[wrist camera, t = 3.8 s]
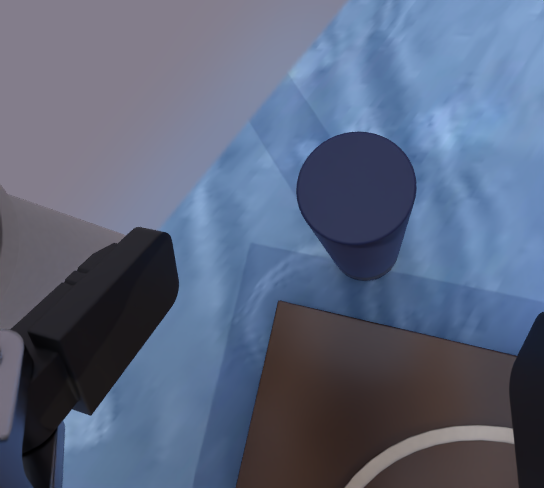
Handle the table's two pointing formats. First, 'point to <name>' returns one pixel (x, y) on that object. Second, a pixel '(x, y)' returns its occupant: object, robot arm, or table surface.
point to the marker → (358, 201)
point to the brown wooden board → (377, 409)
